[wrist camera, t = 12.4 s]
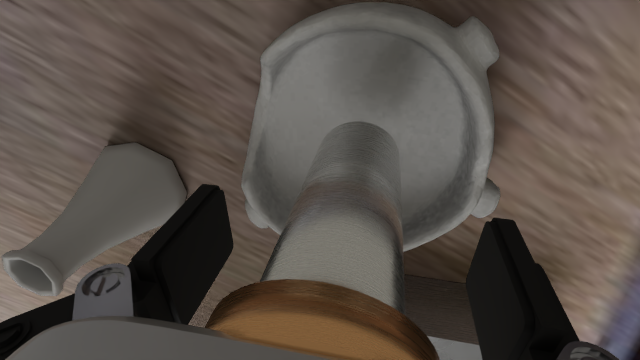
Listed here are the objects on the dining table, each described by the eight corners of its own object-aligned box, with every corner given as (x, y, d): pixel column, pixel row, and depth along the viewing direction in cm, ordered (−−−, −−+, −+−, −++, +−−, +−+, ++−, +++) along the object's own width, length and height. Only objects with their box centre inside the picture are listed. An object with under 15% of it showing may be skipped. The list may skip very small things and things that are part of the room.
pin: (425, 112, 14) (487, 376, 5) (405, 211, 17) (419, 497, 8) (304, 101, 15) (152, 310, 6) (304, 197, 18) (205, 442, 8)
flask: (183, 150, 24) (68, 243, 15) (193, 225, 28) (105, 332, 19) (94, 131, 24) (-63, 211, 16) (115, 207, 28) (-1, 303, 20)
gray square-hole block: (486, 379, 30) (500, 442, 26) (357, 354, 32) (351, 409, 28) (529, 293, 24) (557, 359, 20) (367, 269, 26) (361, 324, 22)
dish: (270, 208, 25) (246, 253, 21) (239, 5, 18) (191, 13, 14) (471, 224, 22) (487, 280, 18) (527, -9, 15) (576, -4, 11)
